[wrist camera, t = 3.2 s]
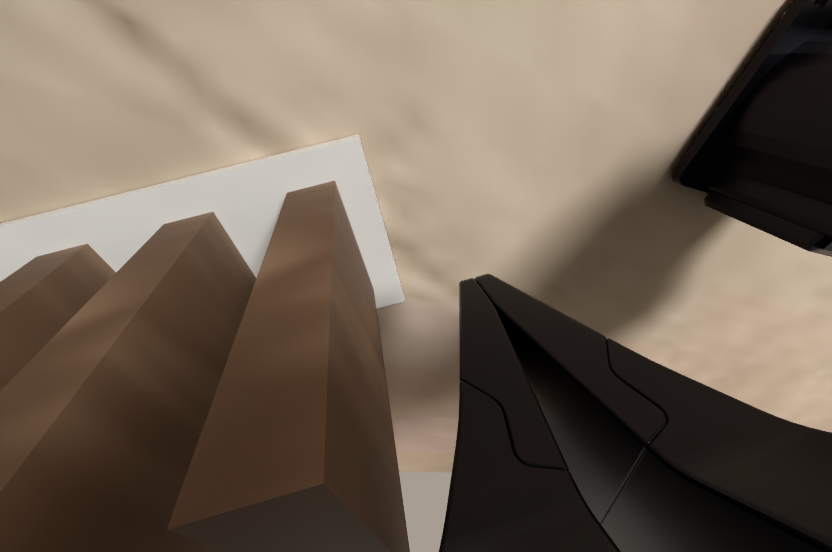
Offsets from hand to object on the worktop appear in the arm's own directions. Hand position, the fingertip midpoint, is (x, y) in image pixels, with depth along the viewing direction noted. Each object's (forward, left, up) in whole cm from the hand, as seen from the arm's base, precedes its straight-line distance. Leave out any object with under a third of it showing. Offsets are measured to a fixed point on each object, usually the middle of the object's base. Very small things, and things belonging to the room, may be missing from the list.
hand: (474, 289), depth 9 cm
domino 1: (+2, -3, -4) cm, 6 cm away
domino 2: (+3, -7, -4) cm, 9 cm away
